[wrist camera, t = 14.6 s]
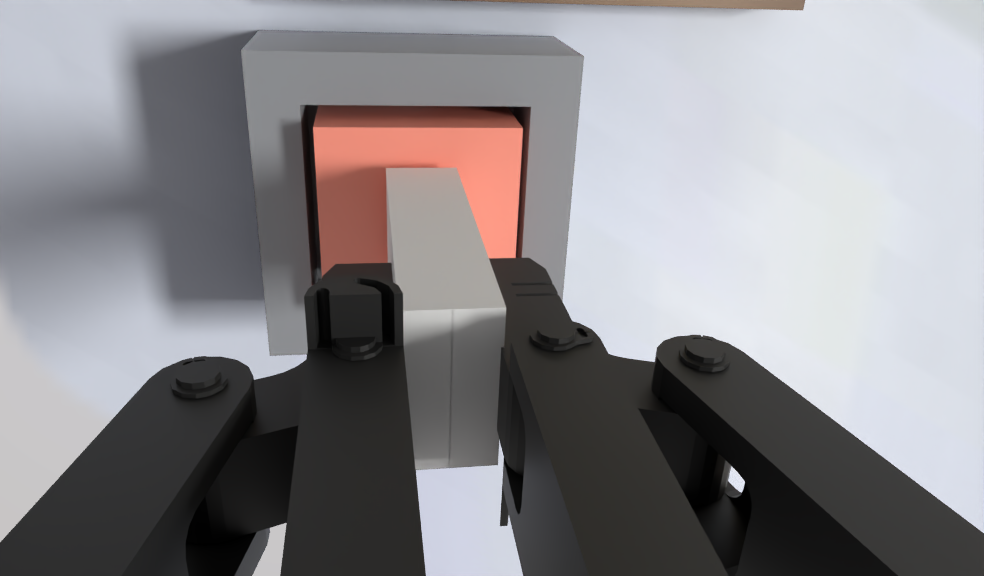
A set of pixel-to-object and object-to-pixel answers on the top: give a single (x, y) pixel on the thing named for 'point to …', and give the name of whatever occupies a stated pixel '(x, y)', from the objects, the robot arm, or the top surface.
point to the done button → (412, 144)
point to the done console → (398, 82)
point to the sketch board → (680, 3)
